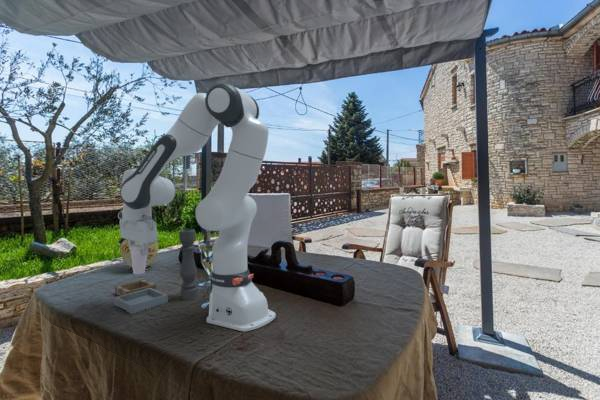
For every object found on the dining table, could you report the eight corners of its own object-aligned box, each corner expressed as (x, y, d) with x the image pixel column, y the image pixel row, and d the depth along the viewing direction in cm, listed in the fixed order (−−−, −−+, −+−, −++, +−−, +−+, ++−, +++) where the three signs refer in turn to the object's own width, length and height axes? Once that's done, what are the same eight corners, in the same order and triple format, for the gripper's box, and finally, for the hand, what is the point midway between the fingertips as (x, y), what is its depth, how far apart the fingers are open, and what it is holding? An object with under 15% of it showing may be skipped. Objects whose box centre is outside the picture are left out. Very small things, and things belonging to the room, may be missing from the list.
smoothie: (152, 271, 116) (153, 232, 115) (142, 275, 110) (142, 234, 109) (136, 270, 117) (136, 231, 116) (124, 274, 110) (124, 234, 110)
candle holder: (177, 298, 119) (174, 231, 117) (189, 293, 124) (187, 229, 123) (189, 301, 116) (186, 232, 114) (201, 295, 121) (199, 230, 120)
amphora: (154, 263, 170) (152, 207, 168) (164, 269, 157) (161, 209, 156) (116, 269, 159) (113, 209, 157) (124, 277, 146) (121, 211, 144)
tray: (167, 302, 115) (167, 294, 115) (131, 314, 105) (131, 305, 105) (150, 294, 123) (150, 287, 123) (115, 305, 113) (114, 297, 113)
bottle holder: (156, 291, 126) (156, 284, 126) (127, 300, 118) (127, 292, 117) (143, 286, 133) (142, 279, 133) (115, 294, 124) (114, 286, 124)
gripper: (161, 215, 108) (163, 255, 109) (133, 211, 121) (135, 248, 122) (143, 217, 103) (144, 259, 104) (115, 213, 116) (117, 251, 117)
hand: (139, 253), depth 113 cm, fingers closed on smoothie, 6 cm apart
